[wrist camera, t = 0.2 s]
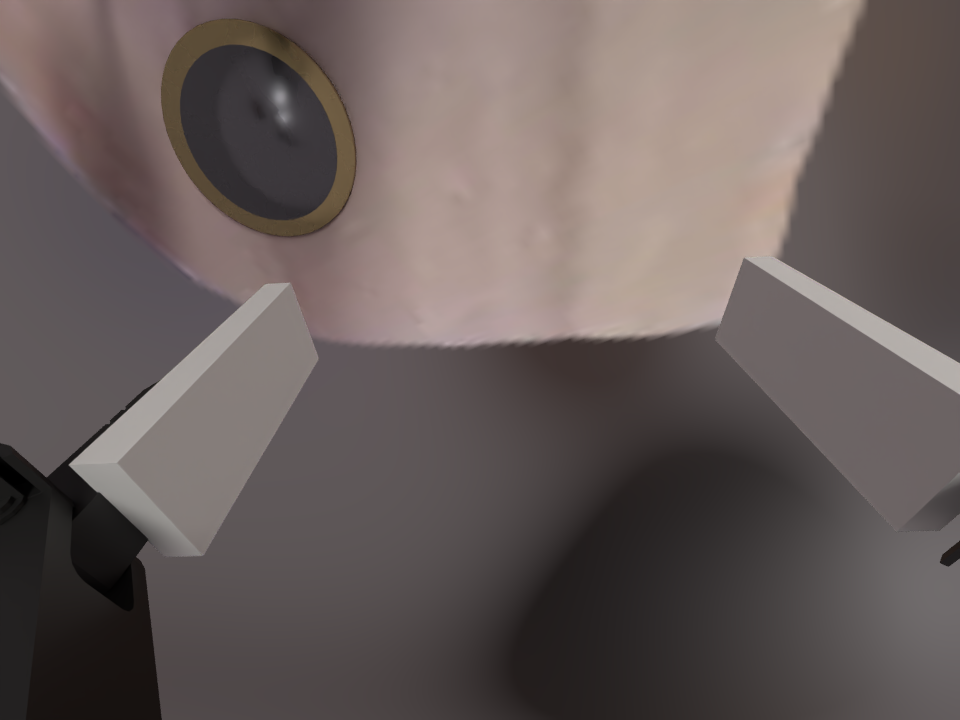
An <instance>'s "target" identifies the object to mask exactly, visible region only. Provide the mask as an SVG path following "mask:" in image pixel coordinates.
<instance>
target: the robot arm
mask: <svg viewBox="0 0 960 720" xmlns="http://www.w3.org/2000/svg"><path fill="white" fill-rule="evenodd" d="M715 340H716V341H717V342H718V343H719V344H720V345H721V346H722V347H723V348H724V349H725V350H726V351H727V353H728V354H729V355H730V356H731V357H732V358H733V359H734V360H735V361H736V362H737V363H738V364H739V365H740V366H741V367H742V369H743V370H744V371H745V372H746V373H747V374H748V375H749V376H750V377H751V378H752V379H753V380H754V381H755V382H756V383H757V384H758V385H759V386H760V388H761V389H762V390H763V391H764V392H765V393H766V394H767V395H768V396H769V397H770V398H771V399H772V400H773V401H774V402H775V403H776V404H777V406H778V407H779V408H780V409H781V410H782V411H783V412H784V413H785V414H786V415H787V416H788V417H789V418H790V419H791V420H792V421H793V422H794V424H796V426H797V427H798V428H799V429H800V430H801V431H802V432H803V433H804V434H805V435H806V436H807V437H808V438H809V439H810V440H811V442H813V444H814V445H815V446H816V447H817V448H818V449H819V450H820V451H821V452H822V453H823V454H824V455H825V456H826V457H827V458H828V460H829V461H830V462H831V463H832V464H833V465H834V466H835V467H836V468H837V469H838V470H839V471H840V472H841V473H842V474H843V475H844V476H845V477H846V479H847V480H848V481H849V482H850V483H851V484H852V485H853V486H854V487H855V488H856V489H857V490H858V491H859V492H860V493H861V494H862V495H863V496H864V498H866V500H867V501H868V502H869V503H870V504H871V505H872V506H873V507H874V508H875V509H876V510H877V511H878V512H879V513H880V515H881V516H882V517H883V518H884V519H885V520H886V521H887V522H888V523H889V524H890V525H891V526H892V527H893V528H894V529H895V530H896V531H897V532H909V531H934V530H935V531H938V530H941V529H942V528H943V527H944V526H945V525H947V524H948V523H949V522H950V521H951V520H953V519H954V518H955V517H956V516H957V515H958V514H960V363H958V362H956V361H954V360H953V359H951V358H949V357H947V356H946V355H944V354H942V353H940V352H939V351H937V350H935V349H933V348H932V347H930V346H928V345H926V344H925V343H923V342H921V341H919V340H918V339H916V338H914V337H912V336H911V335H909V334H907V333H905V332H904V331H902V330H900V329H898V328H897V327H895V326H893V325H891V324H890V323H888V322H886V321H884V320H883V319H881V318H879V317H877V316H876V315H874V314H872V313H870V312H868V311H867V310H865V309H863V308H862V307H860V306H858V305H856V304H855V303H853V302H851V301H849V300H848V299H846V298H844V297H842V296H841V295H839V294H837V293H835V292H834V291H832V290H830V289H828V288H827V287H825V286H823V285H821V284H820V283H818V282H816V281H814V280H812V279H811V278H809V277H807V276H806V275H804V274H802V273H800V272H798V271H797V270H795V269H793V268H791V267H790V266H788V265H786V264H784V263H783V262H781V261H779V260H777V259H776V258H774V257H772V256H765V257H747V258H744V259H743V262H742V265H741V268H740V271H739V273H738V276H737V279H736V282H735V284H734V287H733V290H732V293H731V296H730V298H729V301H728V304H727V307H726V310H725V312H724V315H723V318H722V321H721V324H720V326H719V329H718V332H717V335H716V338H715ZM318 360H319V358H318V355H317V352H316V349H315V347H314V344H313V341H312V339H311V336H310V333H309V331H308V328H307V325H306V322H305V320H304V317H303V314H302V312H301V309H300V306H299V304H298V301H297V298H296V295H295V293H294V290H293V287H292V285H291V283H276V284H265V285H264V286H263V287H262V288H260V289H259V290H258V291H257V292H256V293H255V294H254V295H253V296H252V297H251V298H250V299H248V300H247V301H246V302H245V303H244V304H243V305H242V306H241V307H240V308H239V309H238V310H236V312H234V313H233V314H232V315H231V316H230V317H229V318H228V319H227V320H226V321H225V322H223V323H222V324H221V325H220V326H219V327H218V328H217V329H216V330H215V331H214V332H213V333H211V334H210V335H209V336H208V337H207V338H206V339H205V340H204V341H203V342H202V343H201V344H200V345H198V346H197V347H196V348H195V349H194V350H193V351H192V352H191V353H190V354H189V355H188V356H186V357H185V358H184V359H183V360H182V361H181V362H180V363H179V364H178V365H177V366H176V367H174V368H173V369H172V370H171V371H170V372H169V373H168V374H167V375H166V376H165V377H164V378H163V379H161V380H160V381H158V382H157V383H155V384H153V385H151V386H150V387H148V388H146V389H145V390H143V391H142V392H141V393H140V394H139V395H138V396H137V397H136V398H135V399H134V400H132V401H131V402H130V403H129V404H128V405H127V406H126V409H125V410H121V411H120V412H119V413H118V414H117V415H116V416H114V417H113V418H112V419H111V420H110V424H106V425H105V426H103V427H102V428H101V429H100V430H99V431H98V432H97V433H96V434H95V435H93V436H92V437H91V438H90V439H89V440H88V441H87V442H86V443H85V444H83V445H82V447H80V448H79V449H78V450H77V451H76V452H75V453H73V454H72V455H71V456H70V457H69V458H68V459H67V460H66V461H65V462H63V463H62V464H61V465H60V466H59V467H58V468H57V469H56V470H55V471H54V472H52V473H51V474H50V475H49V476H48V477H47V478H46V477H45V476H44V475H43V474H42V473H41V472H39V471H38V470H37V469H36V468H35V467H34V466H33V465H31V464H30V463H29V462H28V461H27V460H26V459H25V458H24V457H22V456H21V455H20V454H19V453H18V452H17V451H16V450H14V449H13V448H12V447H11V446H9V445H5V444H1V443H0V720H162V718H161V709H160V700H159V691H158V683H157V674H156V664H155V656H154V646H153V637H152V628H151V619H150V610H149V601H148V593H147V584H146V575H145V568H144V566H143V564H142V562H141V561H140V560H139V559H138V558H137V557H136V556H137V554H138V553H139V552H140V550H141V549H142V548H143V546H144V545H145V543H146V542H147V541H149V542H150V543H151V544H152V545H153V546H154V547H155V548H156V549H157V550H158V551H159V552H160V553H161V554H162V555H163V556H164V557H179V556H203V555H204V553H205V552H206V550H207V548H208V547H209V545H210V543H211V541H212V540H213V538H214V536H215V535H216V533H217V531H218V530H219V528H220V526H221V524H222V523H223V521H224V519H225V518H226V516H227V514H228V513H229V511H230V509H231V508H232V506H233V504H234V502H235V501H236V499H237V497H238V495H239V494H240V492H241V490H242V489H243V487H244V485H245V484H246V482H247V480H248V479H249V477H250V475H251V473H252V472H253V470H254V468H255V466H256V465H257V463H258V461H259V460H260V458H261V457H262V455H263V453H264V451H265V450H266V448H267V446H268V445H269V443H270V441H271V440H272V438H273V436H274V434H275V433H276V431H277V429H278V428H279V426H280V424H281V422H282V421H283V419H284V417H285V416H286V414H287V412H288V410H289V409H290V407H291V406H292V403H293V402H294V400H295V399H296V397H297V395H298V394H299V392H300V390H301V389H302V387H303V385H304V383H305V382H306V380H307V378H308V377H309V375H310V373H311V372H312V370H313V368H314V366H315V365H316V363H317V361H318ZM959 558H960V541H959V542H958V543H956V544H955V545H954V546H953V547H951V548H950V549H949V550H948V551H946V552H945V553H944V554H943V555H942V557H941V561H940V563H941V564H944V565H946V566H950V565H951V564H953V563H954V562H955V561H957V560H958V559H959Z"/></svg>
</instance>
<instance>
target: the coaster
mask: <svg viewBox="0 0 960 720" xmlns="http://www.w3.org/2000/svg"><path fill="white" fill-rule="evenodd" d="M161 103H162V111H163V118H164V122H165V126H166V130H167V133H168V136H169V139H170V141H171V144H172V147H173V149H174V151H175V153H176V155H177V157H178V159H179V161H180V163H181V164H182V166H183V168H184V169H185V171H186V173H187V174H188V176H189V177H190V178H191V180H192V181H193V182H194V184H195V185H196V186H197V187H198V188H199V190H200V191H201V192H202V193H203V194H204V195H205V196H206V197H207V198H208V199H209V200H210V201H211V202H212V203H213V204H214V205H215V206H216V207H218V208H219V209H220V210H221V211H223V212H224V213H225V214H227V215H228V216H230V217H231V218H233V219H234V220H236V221H238V222H239V223H241V224H243V225H245V226H247V227H249V228H252V229H254V230H257V231H260V232H263V233H267V234H272V235H278V236H296V235H303V234H306V233H310V232H313V231H315V230H317V229H319V228H321V227H323V226H324V225H326V224H327V223H329V222H330V221H331V220H332V219H333V218H334V217H336V216H337V215H338V213H339V212H340V211H341V209H342V208H343V207H344V205H345V203H346V202H347V200H348V198H349V195H350V193H351V190H352V187H353V183H354V179H355V172H356V147H355V140H354V134H353V131H352V127H351V123H350V120H349V117H348V114H347V112H346V109H345V107H344V105H343V103H342V100H341V98H340V96H339V94H338V93H337V91H336V89H335V88H334V86H333V84H332V83H331V81H330V80H329V78H328V77H327V76H326V74H325V73H324V72H323V71H322V69H321V68H320V67H319V66H318V64H317V63H316V62H315V61H314V60H313V59H312V58H311V57H310V56H309V55H308V54H307V53H306V52H304V51H303V50H302V49H301V48H300V47H299V46H297V45H296V44H295V43H293V42H292V41H290V40H289V39H287V38H286V37H285V36H283V35H281V34H279V33H277V32H275V31H273V30H271V29H269V28H267V27H264V26H261V25H259V24H256V23H253V22H249V21H244V20H238V19H219V20H213V21H209V22H206V23H203V24H201V25H198V26H196V27H195V28H193V29H192V30H190V31H189V32H187V33H186V34H185V35H184V36H183V37H182V38H181V39H180V40H179V41H178V42H177V44H176V45H175V47H174V48H173V50H172V51H171V53H170V55H169V58H168V60H167V62H166V65H165V69H164V73H163V77H162V87H161Z"/></svg>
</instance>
